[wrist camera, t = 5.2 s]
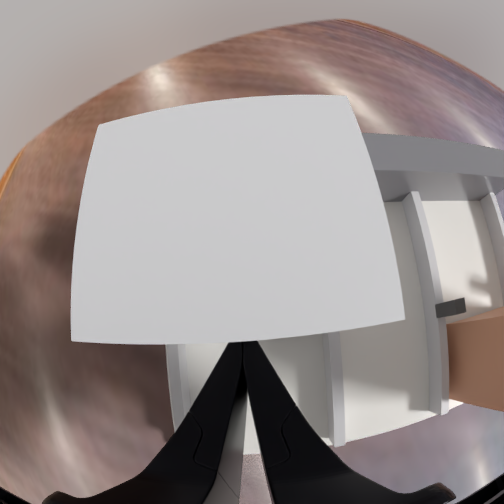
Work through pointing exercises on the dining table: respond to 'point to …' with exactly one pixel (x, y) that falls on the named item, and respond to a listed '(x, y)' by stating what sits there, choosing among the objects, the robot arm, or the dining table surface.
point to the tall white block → (232, 226)
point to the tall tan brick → (477, 360)
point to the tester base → (413, 293)
